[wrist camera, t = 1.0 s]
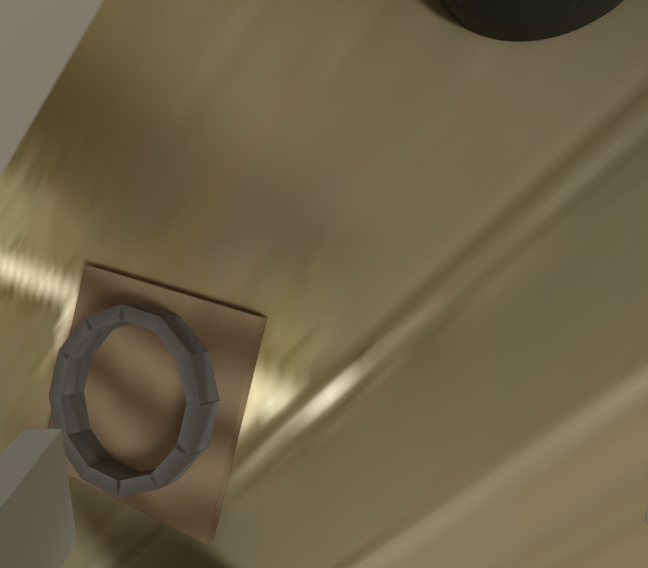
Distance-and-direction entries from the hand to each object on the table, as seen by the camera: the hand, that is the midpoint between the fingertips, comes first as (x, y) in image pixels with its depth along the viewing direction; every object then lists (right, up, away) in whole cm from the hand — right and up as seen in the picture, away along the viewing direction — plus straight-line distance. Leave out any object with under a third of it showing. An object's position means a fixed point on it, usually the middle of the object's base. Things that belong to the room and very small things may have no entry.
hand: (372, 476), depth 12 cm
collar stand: (-16, -5, +33) cm, 37 cm away
